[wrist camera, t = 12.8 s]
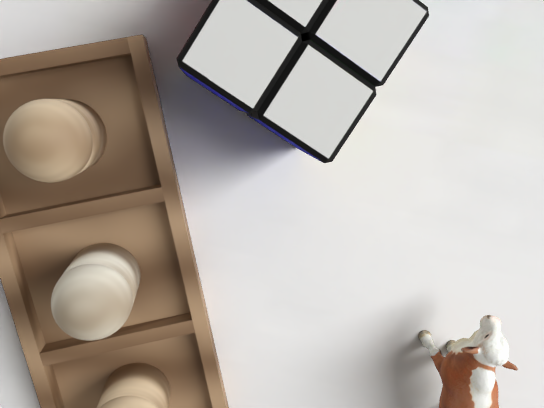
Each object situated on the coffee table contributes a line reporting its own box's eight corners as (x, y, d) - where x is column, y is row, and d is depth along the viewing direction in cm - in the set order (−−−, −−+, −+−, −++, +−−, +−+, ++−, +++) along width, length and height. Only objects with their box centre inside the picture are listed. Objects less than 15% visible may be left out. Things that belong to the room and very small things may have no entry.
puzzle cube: (182, 73, 36) (172, 63, 26) (259, -54, 35) (279, -113, 25) (299, 150, 38) (330, 167, 28) (375, 32, 37) (435, 9, 27)
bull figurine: (468, 285, 42) (528, 328, 34) (464, 431, 45) (520, 503, 37) (416, 290, 41) (466, 335, 34) (416, 438, 44) (461, 512, 36)
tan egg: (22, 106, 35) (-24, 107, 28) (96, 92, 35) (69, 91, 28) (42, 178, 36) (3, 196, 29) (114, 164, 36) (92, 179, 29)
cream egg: (59, 254, 37) (27, 292, 30) (127, 234, 37) (111, 267, 30) (83, 315, 38) (58, 365, 31) (149, 296, 38) (138, 341, 32)
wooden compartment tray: (-50, 71, 34) (-65, 70, 32) (145, 38, 35) (142, 34, 33) (72, 468, 41) (65, 487, 39) (233, 430, 42) (234, 446, 40)
